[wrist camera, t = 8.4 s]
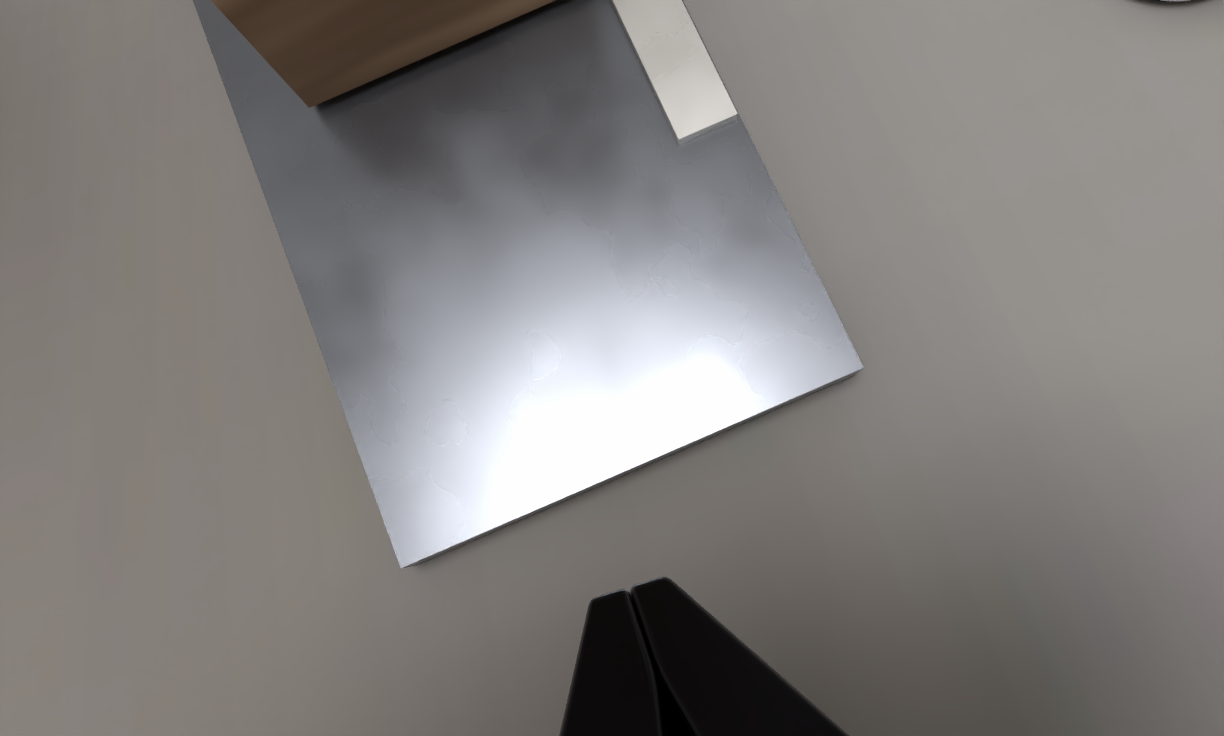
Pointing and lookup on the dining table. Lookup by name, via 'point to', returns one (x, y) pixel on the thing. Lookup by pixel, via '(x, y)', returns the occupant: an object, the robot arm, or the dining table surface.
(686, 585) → the dining table surface
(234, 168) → the dining table surface
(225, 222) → the dining table surface
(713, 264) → the grey piece
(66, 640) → the dining table surface
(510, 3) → the brown wooden flat block
